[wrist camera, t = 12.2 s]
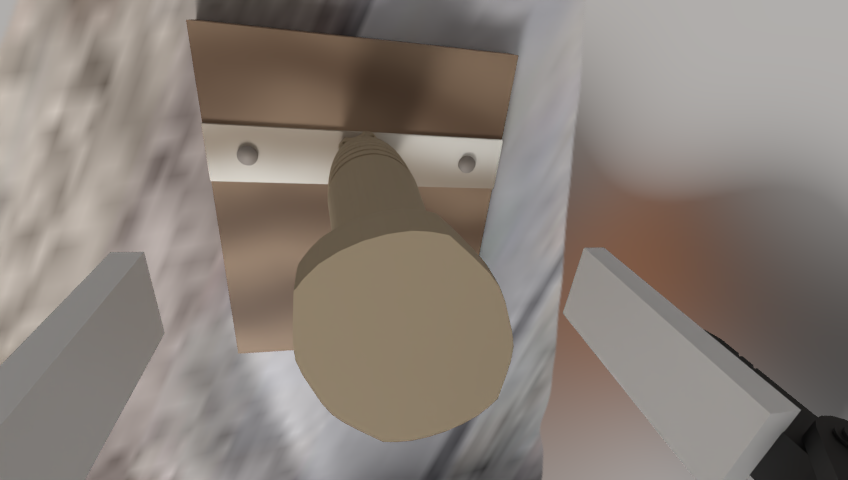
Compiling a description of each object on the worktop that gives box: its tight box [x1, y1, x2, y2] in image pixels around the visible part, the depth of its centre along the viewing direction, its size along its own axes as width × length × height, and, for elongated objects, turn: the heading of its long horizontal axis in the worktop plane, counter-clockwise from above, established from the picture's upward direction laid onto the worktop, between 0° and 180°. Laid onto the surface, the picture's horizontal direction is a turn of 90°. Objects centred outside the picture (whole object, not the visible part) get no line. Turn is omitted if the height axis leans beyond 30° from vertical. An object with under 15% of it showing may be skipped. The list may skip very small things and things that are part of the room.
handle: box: [293, 131, 513, 442], centre depth 16 cm, size 5×6×15 cm
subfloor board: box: [186, 20, 518, 353], centre depth 25 cm, size 20×16×2 cm
